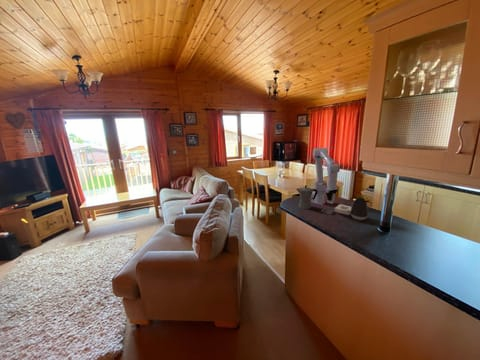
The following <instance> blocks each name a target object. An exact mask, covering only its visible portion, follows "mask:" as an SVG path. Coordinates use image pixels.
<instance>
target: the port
mask: <svg viewBox="0 0 480 360" xmlns="http://www.w3.org/2000/svg"><path fill="white" fill-rule="evenodd" d="M351 207H352V206H350V205H345V204H342V203H340V204H338V205H337V206H336V207H334V209H335V210H334V212H335V213H339V214H343V215H347V216H350V215H351V213H350V211H351Z"/></svg>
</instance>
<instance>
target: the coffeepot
mask: <svg viewBox="0 0 480 360" xmlns="http://www.w3.org/2000/svg"><path fill="white" fill-rule="evenodd" d="M295 190H297V192H298V194H299V197H300V198H299V201H298V208H299V209H301V210H302V209H303V210H309V209H311V207H312V206H311V205H312V204H311V200H312V199H315V197H316V195H317V193H318V191H317V190H316V189H313V188H311V187H308V186H307V185H304V186H303V187H299V188H298V187H297V188H296V189H295ZM313 191H315V195H314V198H312V193H313Z"/></svg>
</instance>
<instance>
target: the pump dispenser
mask: <svg viewBox="0 0 480 360" xmlns="http://www.w3.org/2000/svg"><path fill="white" fill-rule="evenodd" d="M368 203H370V200H366V198H364V197H361V196H359V197H356V199H355V200H354V201H353V203H352V204H351V206H350V207H351V211H350V213H351V214H350V215H351V217H352V219H354V220H357V221H364V220H366V219H367V217H368V216H369V207H368Z"/></svg>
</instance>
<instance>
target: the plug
mask: <svg viewBox="0 0 480 360" xmlns="http://www.w3.org/2000/svg"><path fill="white" fill-rule="evenodd" d="M335 198H336V194H335V193H333V196H332V200H331V201H329V200H328V198H327V200H326V203H328V204H334V203H335Z"/></svg>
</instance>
